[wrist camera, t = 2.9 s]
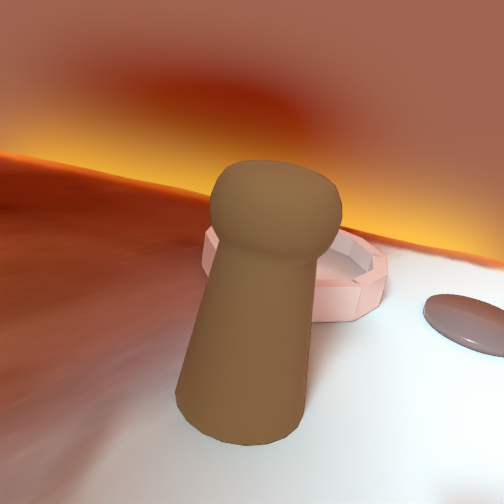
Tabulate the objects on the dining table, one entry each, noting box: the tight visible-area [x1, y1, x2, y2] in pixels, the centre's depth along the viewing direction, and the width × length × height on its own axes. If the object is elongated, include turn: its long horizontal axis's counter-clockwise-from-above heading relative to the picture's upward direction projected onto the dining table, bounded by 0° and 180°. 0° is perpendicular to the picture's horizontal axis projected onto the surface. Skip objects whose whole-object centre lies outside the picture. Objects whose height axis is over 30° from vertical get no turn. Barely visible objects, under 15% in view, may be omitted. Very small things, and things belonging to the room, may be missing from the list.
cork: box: [175, 160, 342, 446], centre depth 20 cm, size 6×6×11 cm
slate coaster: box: [423, 294, 504, 357], centre depth 33 cm, size 7×7×1 cm
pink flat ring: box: [201, 226, 388, 322], centre depth 36 cm, size 13×13×2 cm
